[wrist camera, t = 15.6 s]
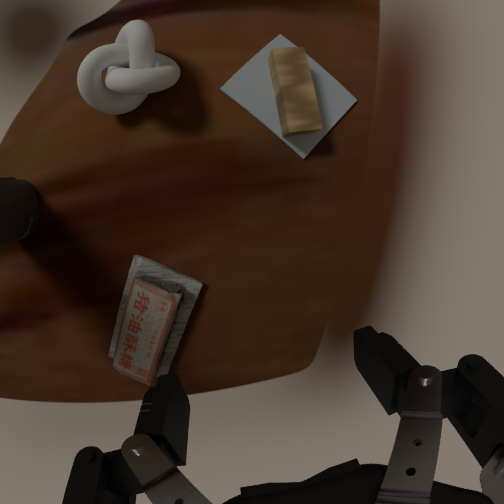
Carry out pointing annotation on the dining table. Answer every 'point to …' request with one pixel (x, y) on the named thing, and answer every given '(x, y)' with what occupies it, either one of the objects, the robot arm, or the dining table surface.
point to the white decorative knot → (126, 71)
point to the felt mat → (264, 104)
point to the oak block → (294, 91)
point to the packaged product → (151, 319)
